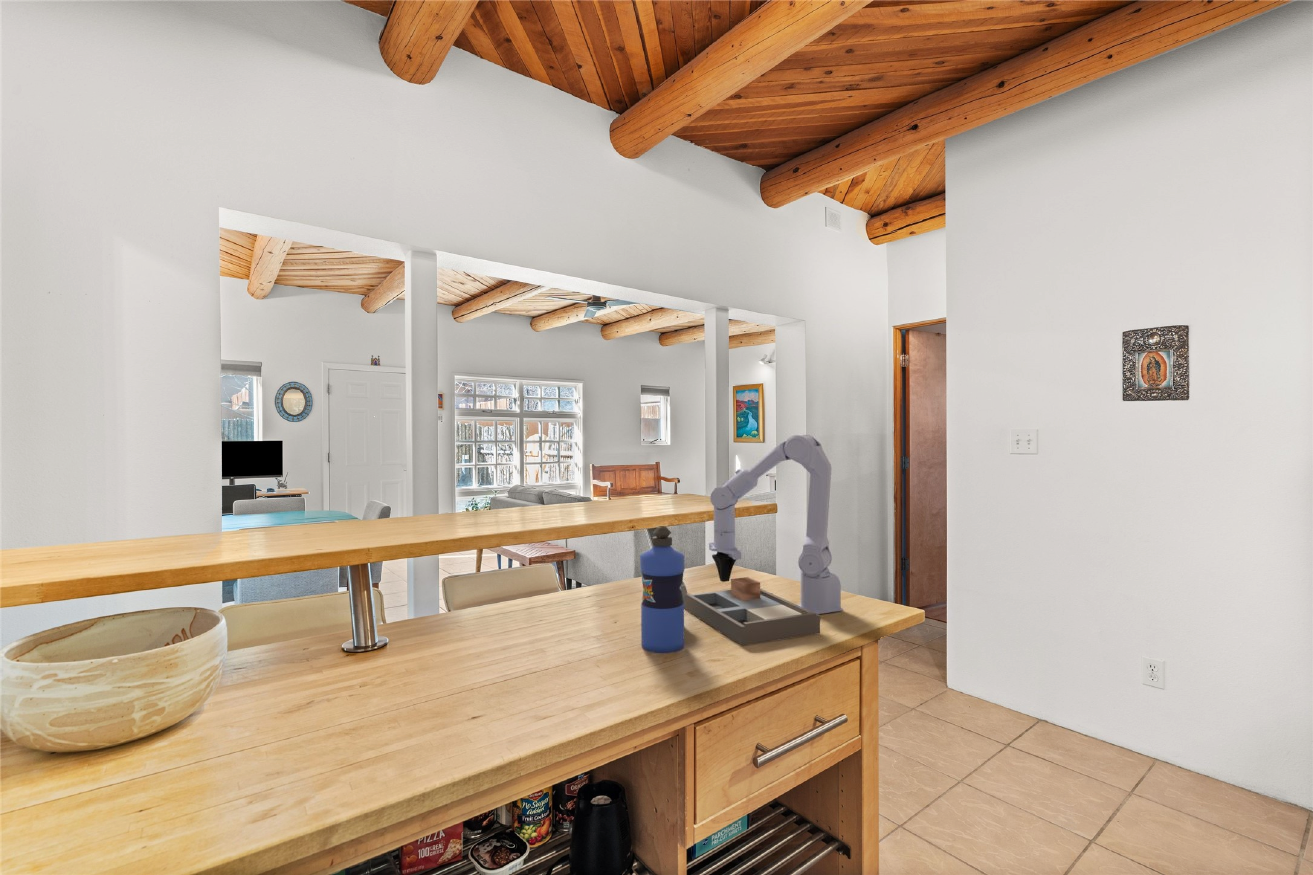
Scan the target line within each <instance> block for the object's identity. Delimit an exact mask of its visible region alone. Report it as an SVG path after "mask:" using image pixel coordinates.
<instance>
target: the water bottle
mask: <svg viewBox="0 0 1313 875" xmlns="http://www.w3.org/2000/svg"><path fill="white" fill-rule="evenodd" d="M652 533H653V535H654V536H653V537H651V541H652V542H651V544H652V547H651V549H649V550H647V551H645V552H644V553H641V554H640V555H639V559H640V560H639V561H640V564H639V568H640V569H639V570H640V573H641V574H640V575H641V581H642V582H641V583H642V597H641V605H640V608H641V609H640V610H641V611H640V613H641V615H640V618H641V619H640V626H641V628H640V630H641V631H640V632H641V638H640V639H641V640H640V642H641V648H642V649H644V650H645V651H647V652H650V653H655V654H667V653H675V652H678V651H681V650H683V649H684V647H685V609H684V603H683V596H682V582H684V581H683V579H684V572H685V554H684V553H681V552H680V551H677V550H675V549H674V548H673V547H672V546H673V537H672V536H670V535H671V534H672V531H670V529H669V528H668V527H667V526H657V527H656V528H655V529H654V531H653V532H652Z"/></svg>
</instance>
